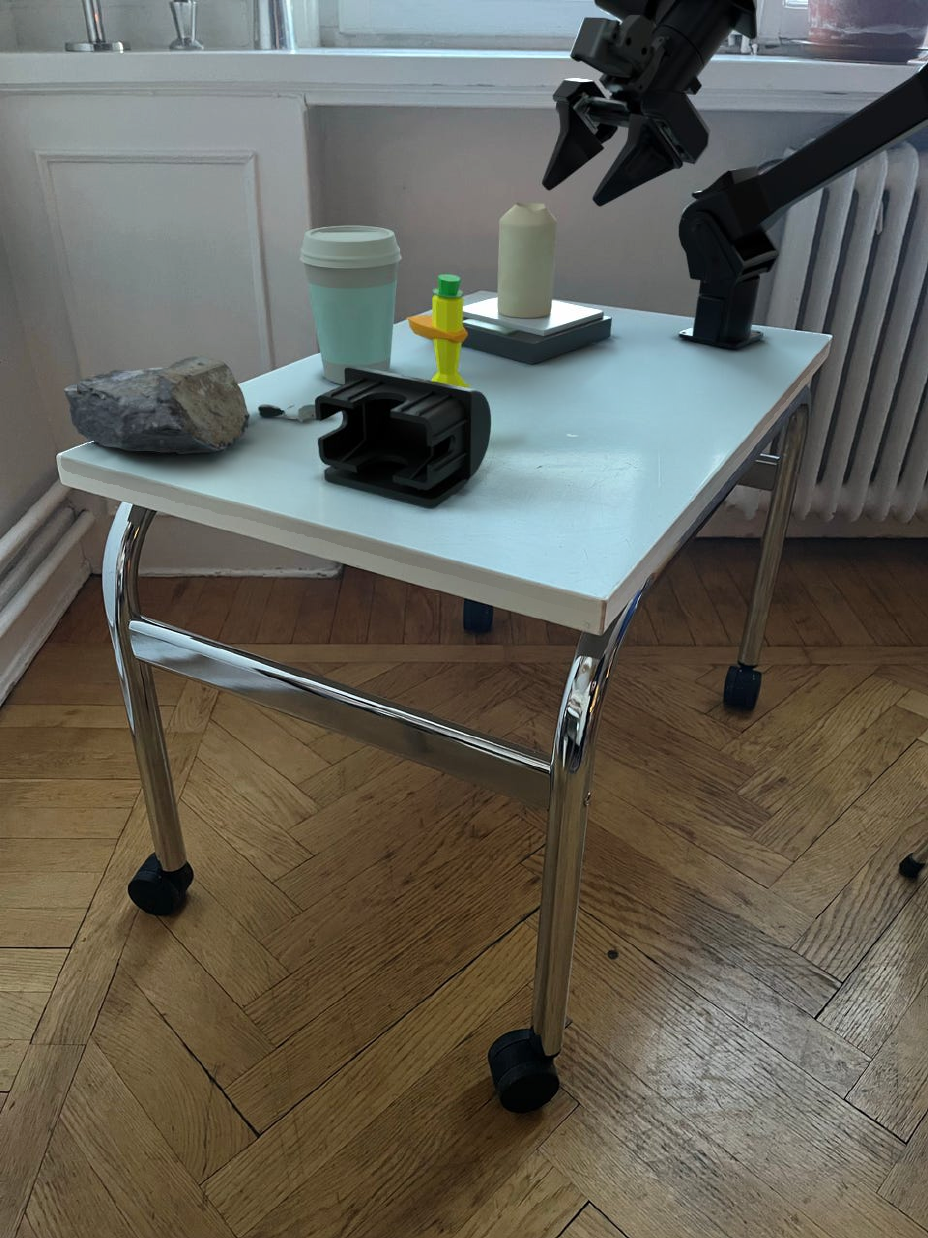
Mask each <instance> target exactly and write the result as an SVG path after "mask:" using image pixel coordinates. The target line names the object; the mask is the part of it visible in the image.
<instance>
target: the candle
mask: <svg viewBox="0 0 928 1238" xmlns="http://www.w3.org/2000/svg"><path fill="white" fill-rule="evenodd" d="M498 227H499V228H498V230H499V231H498V258H497V259H498V260H497V261H498V264H497V293H496V295H497V297H496V298H497V310H498V312H499V313H500V314H502V315H506V316H510V317H517V318H536V317H543V316H546V315H549V314H550V313H551V310H552V300H553V298H554V297H553V296H554V283H555V282H554V280H555V264H556V263H555V262H556V250H557V249H556V248H557V246H556V245H557V231H558V229H557V228H558V221H557V219H556V217H555V216H554V215H553V214H552V213H551V211H550V210H549V209H548V207H547V205H546V204H545V203H537V202H530V203H527V204H524V203H522V202H515V203H514V204H513V206H512V207H511V208H510V209H509V210H508V211H506V212H505V213H504V214H503V215H502V217H500V219H499V226H498Z"/></svg>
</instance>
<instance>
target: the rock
mask: <svg viewBox="0 0 928 1238" xmlns="http://www.w3.org/2000/svg"><path fill="white" fill-rule="evenodd" d="M63 392H64V394H65V397H66V399H67V401H68V404H69V405H70V406H69V413H70V418H71V424H72V425H73V426H74V427H75V429H76V430H77V434H79V435H81V436H83V437H85V438H86V439H87V440H88V441H90V442H94V443H98V444H99V445H100V446H104V447H109V448H117V449H118V448H119V449H121V450H124V451H132V452H133V451H134V452H140V451H141V452H143V451H150V452H156V453H162V454H164V453H165V454H166V453H177V454H178V455H186V454H196V453H213V452H214V453H215V452H220V451H221V452H222V451H224V450H227V449H229V448H230V447H232V445H233V444H234V443H235V441H236V440H237V439H239V438H241V437H245V433H246V431H247V429H248V428H249V423H250V422H249V419H250V417H251V414H250V413H249V411H248V407H247V404H246V399H245V395H244V393H243V391H242V389H241V387H240V385H239V383H238V382H237V381H236V379H235V376H234V374H233V371H232V370H231V368H230V366H229V365H228V364H227V363H226V362H224V361H222V360H219V359H214V358H211V357H207V356H203V355H200V356H190V357H186V358H183V359H181V360H178V361H175V362H174V363H172V364H170V365H169V366H167V367H149V368H143V369H137V370H134V369H133V370H132V369H125V370H124V369H113V370H109V371H101V372H99V373H95V374H92V375H90V376H87V377H83V378H82V379H80V380H79V381H77V382H75V383H73V384H72V385H68V386H67V387H65V388H63Z"/></svg>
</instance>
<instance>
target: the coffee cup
mask: <svg viewBox="0 0 928 1238" xmlns="http://www.w3.org/2000/svg"><path fill="white" fill-rule="evenodd" d="M299 252H300V257H299V261H300V262H302V263H303V264H304V271H305V276H306V283H307V286H308V287H307V288H308V292H309V299H310V303H311V309H312V314H313V319H314V320H313V321H314V326H315V332H316V336H317V341H318V348H319V352H320V358H321V363H322V368H323V374H324V377H325V379H326V380H327V381H329V382H331V383H335V384H338V385H343V384H345V373H344V370H345V368H347V367H351V366H357V367H363V368H368V369H373V370H378V371H383V372H389V373H391V372H390V371H391V358H392V346H393V335H394V323H395V322H394V321H395V309H396V294H397V284H398V283H397V282H398V269H399V262H400V261H401V260H402V258H403V256H402V255H401V248H400V247H399V245H398V241H397V238H396V233H395V232H394V231H393V230H391V229H387V228H384V227H378V226H369V225H368V226H367V225H334V226H323V227H317V228H313V229H310V230H307V231H306V232H305V233H304V235H303V242H302V246H301V247H300V251H299Z"/></svg>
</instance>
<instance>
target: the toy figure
mask: <svg viewBox="0 0 928 1238" xmlns="http://www.w3.org/2000/svg"><path fill="white" fill-rule="evenodd" d="M461 281H462V278H461V277H460V276H459V275H456V274H451V273H444V274H443V273H442V274H440V275H438V276H437V285H438V287H435V288H433V289H432V294H434V295H433V296H432V314H420V315H412V316H409V317H406V320H408V325H409V328H410V329H411V331H412V333H413V334H414V335H417V336H419V337H421V338H424V339H427V340H430V341H433V348H434V355H435V363H436V369H437V370H436V373H435V374H434V375H433V377H432V379H431V380H430V381H435V382H440V383H445V384H450V385H455V386H460V387H466V388H471V389H473V388H472V387H471V386H470V385H469V384H468V383H466V381H465V380H464V379H463V378H462V376H461V374H460V372H459V366H460V358H461V351H462V346H461V344H462V342H463V341H464V340H465V339H466V337H467V336H468V333H467V331H466V330H465V328H464V326H463V306H464V297H463V296H464V292H463V291H462V290H461V289H459V288H460V284H461Z"/></svg>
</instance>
